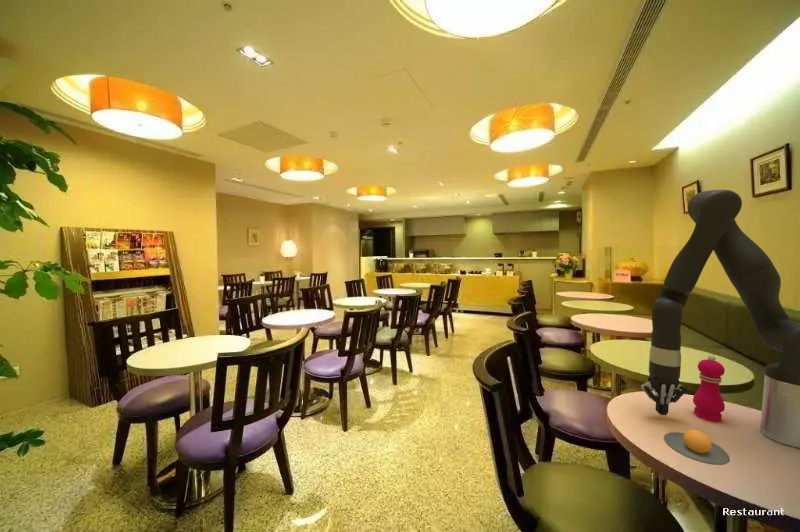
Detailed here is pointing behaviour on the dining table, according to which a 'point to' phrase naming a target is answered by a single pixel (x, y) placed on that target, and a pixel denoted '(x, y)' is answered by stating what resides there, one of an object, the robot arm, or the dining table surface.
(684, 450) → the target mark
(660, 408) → the robot arm
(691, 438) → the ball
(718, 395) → the pepper mill
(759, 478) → the dining table surface
